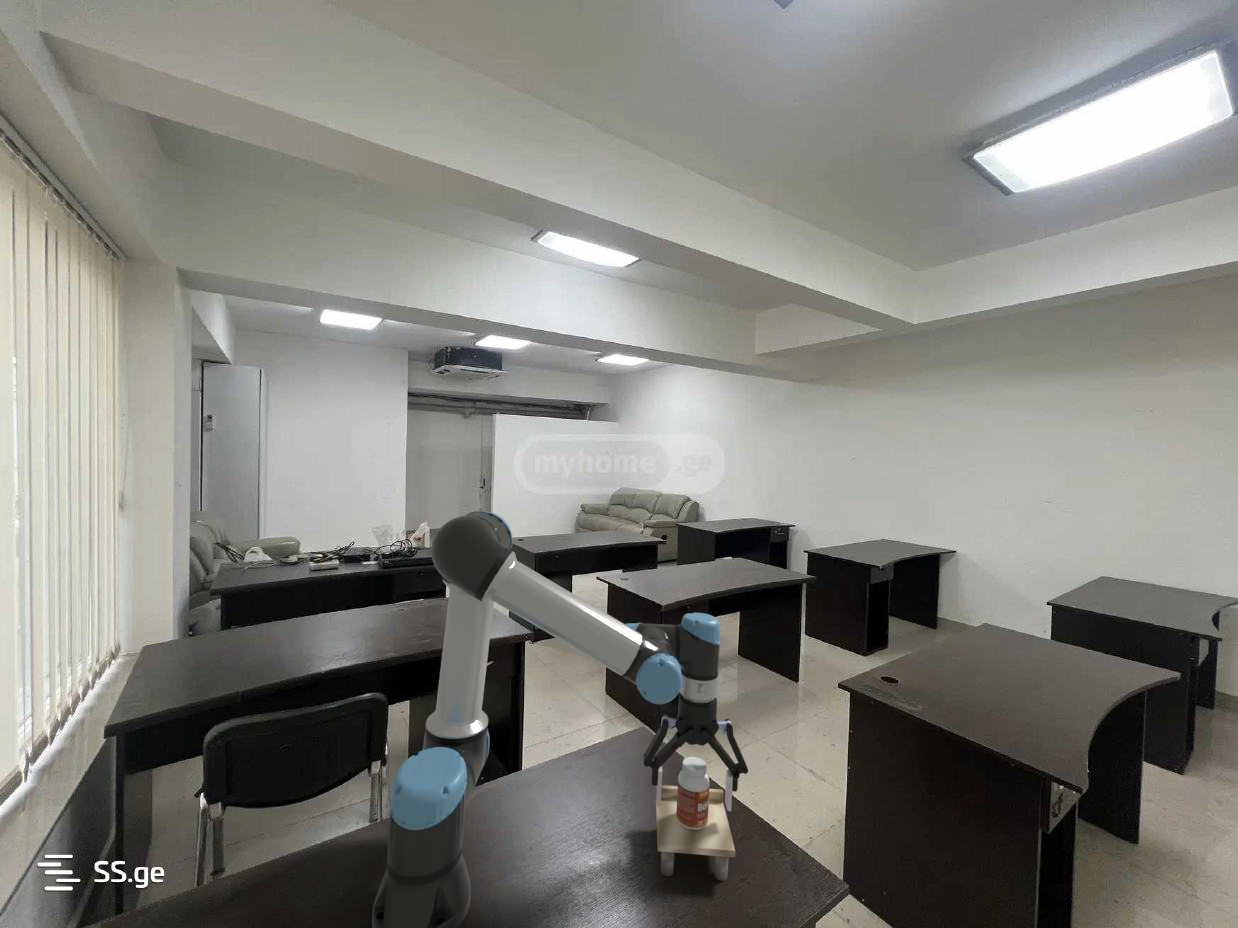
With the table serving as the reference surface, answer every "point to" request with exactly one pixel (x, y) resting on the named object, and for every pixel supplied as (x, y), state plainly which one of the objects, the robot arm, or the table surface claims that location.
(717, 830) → the beige small table
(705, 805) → the pill bottle
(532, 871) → the table surface
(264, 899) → the table surface
